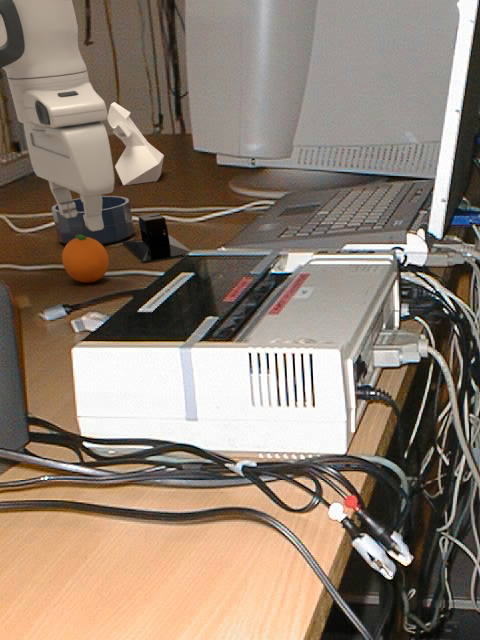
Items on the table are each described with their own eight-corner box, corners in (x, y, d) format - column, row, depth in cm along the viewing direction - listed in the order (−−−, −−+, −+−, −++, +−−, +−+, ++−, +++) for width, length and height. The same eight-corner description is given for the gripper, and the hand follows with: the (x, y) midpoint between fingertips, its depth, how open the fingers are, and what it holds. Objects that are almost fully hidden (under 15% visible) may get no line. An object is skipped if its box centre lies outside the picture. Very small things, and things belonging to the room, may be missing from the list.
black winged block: (194, 255, 125) (188, 221, 122) (141, 264, 122) (135, 229, 120) (169, 236, 134) (164, 204, 132) (120, 244, 132) (114, 211, 129)
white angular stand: (167, 170, 183) (156, 96, 176) (160, 184, 171) (147, 104, 164) (125, 173, 182) (112, 99, 175) (115, 187, 170) (100, 107, 163)
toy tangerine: (76, 291, 112) (65, 244, 109) (61, 281, 116) (51, 235, 113) (119, 281, 115) (110, 235, 112) (103, 272, 119) (94, 228, 116)
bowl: (74, 252, 129) (66, 216, 126) (49, 238, 137) (42, 204, 134) (146, 238, 134) (140, 203, 132) (119, 225, 142) (112, 192, 140)
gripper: (1, 99, 111) (31, 214, 118) (54, 112, 96) (85, 243, 103) (52, 92, 114) (78, 205, 121) (111, 104, 99) (137, 232, 106)
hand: (82, 223), depth 112 cm, fingers open, 8 cm apart
